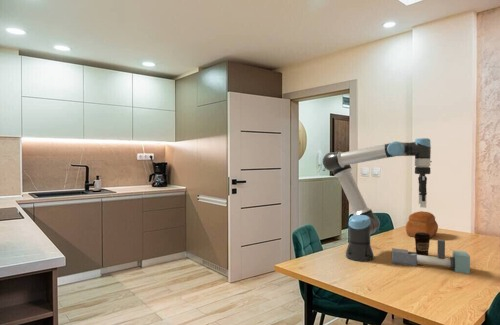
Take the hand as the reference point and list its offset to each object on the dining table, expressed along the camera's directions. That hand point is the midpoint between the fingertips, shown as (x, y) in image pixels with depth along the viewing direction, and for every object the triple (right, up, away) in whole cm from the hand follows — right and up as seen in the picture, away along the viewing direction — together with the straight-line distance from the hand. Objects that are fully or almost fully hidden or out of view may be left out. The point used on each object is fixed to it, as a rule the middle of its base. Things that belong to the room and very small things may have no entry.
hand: (422, 205), depth 176 cm
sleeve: (-11, -31, -2) cm, 33 cm away
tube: (+2, -31, -8) cm, 32 cm away
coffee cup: (+6, -31, +11) cm, 33 cm away
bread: (+31, -30, +59) cm, 73 cm away
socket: (+13, -31, -13) cm, 36 cm away
